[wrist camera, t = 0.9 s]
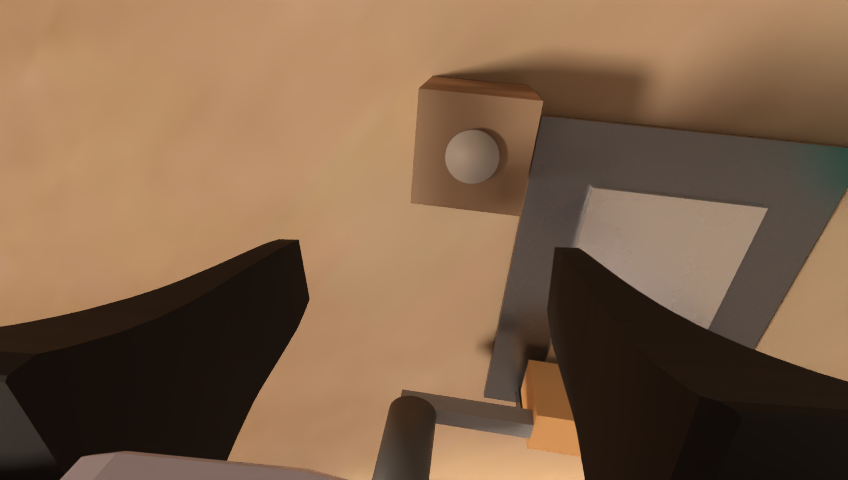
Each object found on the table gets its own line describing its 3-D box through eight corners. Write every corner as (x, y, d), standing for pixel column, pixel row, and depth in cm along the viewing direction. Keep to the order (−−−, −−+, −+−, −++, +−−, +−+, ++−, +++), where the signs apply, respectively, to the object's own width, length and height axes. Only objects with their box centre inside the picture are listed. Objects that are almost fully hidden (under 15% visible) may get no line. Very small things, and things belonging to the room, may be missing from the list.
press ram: (705, 385, 24) (810, 550, 16) (688, 416, 25) (780, 583, 17) (403, 341, 25) (369, 474, 17) (401, 371, 26) (368, 510, 18)
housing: (528, 85, 19) (544, 102, 14) (511, 177, 21) (520, 219, 16) (432, 76, 19) (417, 89, 14) (424, 167, 21) (409, 205, 16)
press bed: (860, 148, 18) (920, 166, 16) (702, 426, 26) (726, 467, 24) (540, 114, 19) (549, 126, 17) (483, 392, 27) (484, 428, 25)
